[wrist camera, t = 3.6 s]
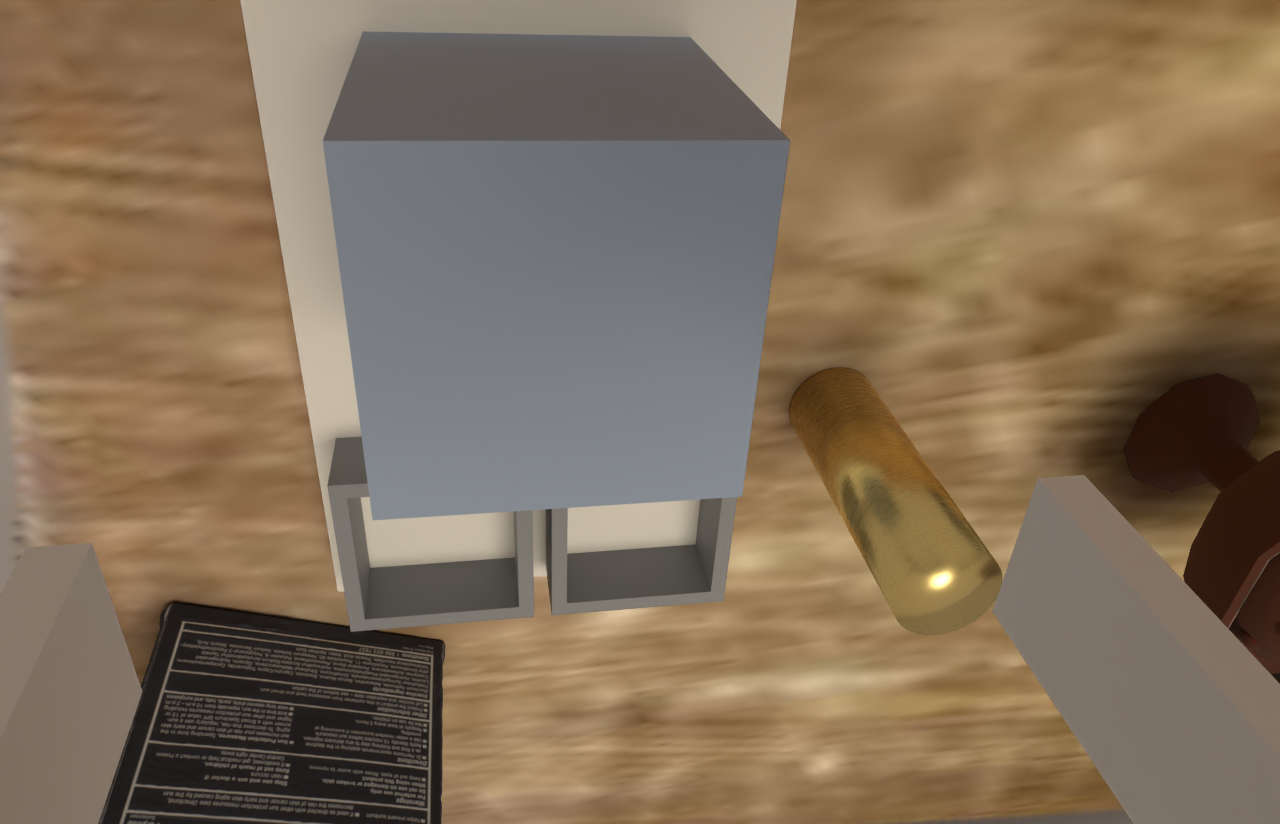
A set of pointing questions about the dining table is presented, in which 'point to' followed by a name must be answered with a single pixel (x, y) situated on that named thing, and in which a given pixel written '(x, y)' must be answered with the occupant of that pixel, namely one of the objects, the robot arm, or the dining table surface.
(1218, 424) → the ice cream bowl
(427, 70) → the cover
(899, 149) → the dining table surface
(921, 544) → the brass pin
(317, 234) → the pin board
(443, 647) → the small box
